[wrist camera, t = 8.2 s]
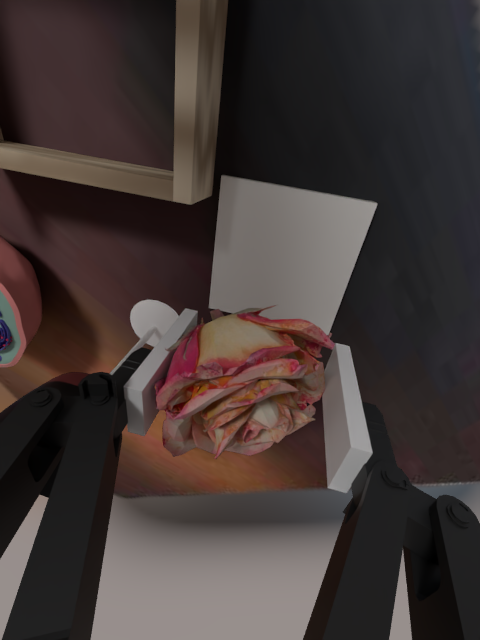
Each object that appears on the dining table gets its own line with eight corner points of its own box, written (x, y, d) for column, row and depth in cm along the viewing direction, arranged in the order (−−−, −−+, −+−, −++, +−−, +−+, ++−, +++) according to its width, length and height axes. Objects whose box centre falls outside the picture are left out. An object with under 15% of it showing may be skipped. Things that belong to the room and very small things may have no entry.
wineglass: (147, 283, 34) (-6, 409, 18) (199, 332, 37) (106, 486, 20) (115, 318, 38) (-36, 449, 21) (164, 360, 40) (61, 510, 23)
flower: (136, 358, 17) (151, 496, 13) (149, 239, 11) (185, 423, 7) (265, 347, 21) (309, 449, 17) (325, 255, 15) (417, 377, 11)
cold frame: (-109, -229, 19) (-395, -492, 11) (246, -214, 16) (192, -536, 9) (-5, 154, 30) (-110, 155, 23) (211, 195, 28) (176, 211, 20)
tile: (224, 174, 27) (221, 175, 26) (375, 201, 25) (377, 203, 24) (211, 303, 34) (208, 307, 33) (327, 330, 33) (328, 335, 32)
